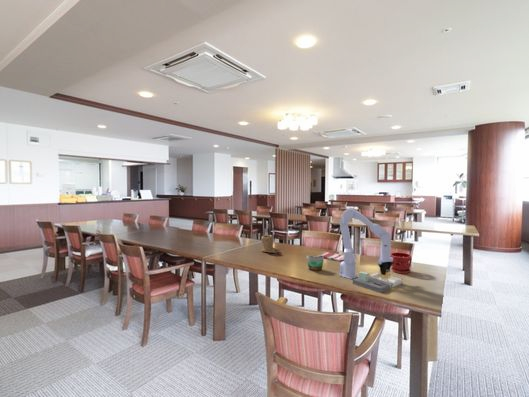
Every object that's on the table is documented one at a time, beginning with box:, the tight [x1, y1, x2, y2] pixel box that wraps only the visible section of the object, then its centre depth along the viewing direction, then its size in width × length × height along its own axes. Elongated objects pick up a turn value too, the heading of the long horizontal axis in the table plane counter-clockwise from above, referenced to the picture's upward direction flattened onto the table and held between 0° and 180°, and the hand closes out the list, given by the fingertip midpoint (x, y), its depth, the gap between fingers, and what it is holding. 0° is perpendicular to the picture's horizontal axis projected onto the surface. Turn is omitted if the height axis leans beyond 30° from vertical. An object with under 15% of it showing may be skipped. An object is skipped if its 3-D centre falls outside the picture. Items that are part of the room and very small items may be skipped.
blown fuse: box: [379, 269, 391, 282], centre depth 172 cm, size 5×3×7 cm, turn 38°
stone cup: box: [261, 234, 281, 254], centre depth 245 cm, size 15×12×15 cm
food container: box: [306, 254, 325, 272], centre depth 194 cm, size 12×6×10 cm, turn 82°
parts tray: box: [369, 272, 403, 288], centre depth 172 cm, size 16×12×2 cm
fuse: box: [358, 270, 370, 282], centre depth 168 cm, size 5×3×7 cm, turn 38°
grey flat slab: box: [352, 277, 390, 294], centre depth 165 cm, size 18×9×2 cm, turn 38°
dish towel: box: [317, 251, 344, 263], centre depth 228 cm, size 17×23×3 cm
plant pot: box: [390, 251, 412, 275], centre depth 192 cm, size 13×13×12 cm
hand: (385, 273), depth 172 cm, fingers open, 3 cm apart
